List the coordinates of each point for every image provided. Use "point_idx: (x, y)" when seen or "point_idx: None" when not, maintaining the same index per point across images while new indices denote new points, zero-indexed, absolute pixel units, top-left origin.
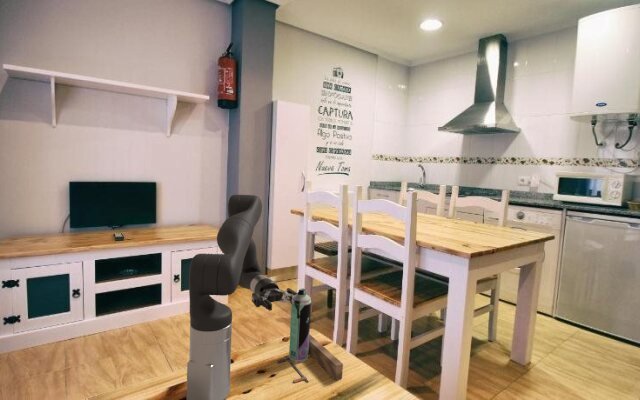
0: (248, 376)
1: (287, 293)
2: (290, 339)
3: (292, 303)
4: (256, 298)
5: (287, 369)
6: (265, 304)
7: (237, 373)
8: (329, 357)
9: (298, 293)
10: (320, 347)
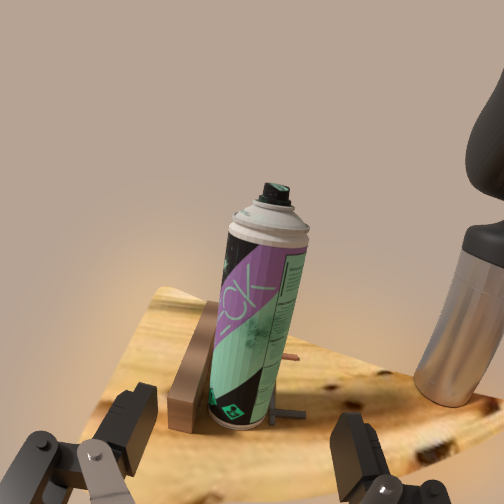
0: (382, 401)
1: (100, 494)
2: (278, 369)
3: (307, 245)
4: (445, 501)
5: (291, 388)
6: (377, 449)
7: (404, 415)
8: (214, 317)
9: (290, 202)
10: (200, 342)
